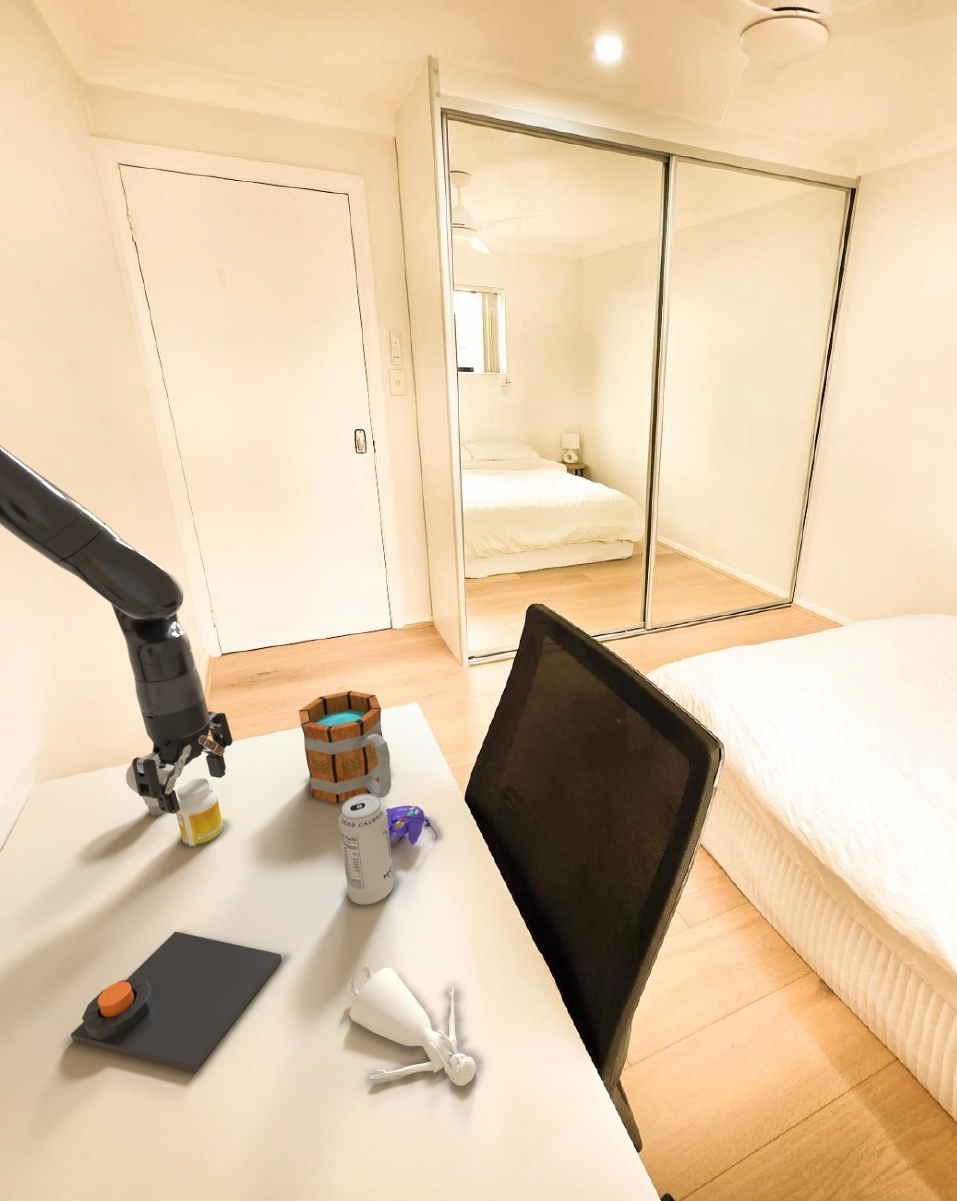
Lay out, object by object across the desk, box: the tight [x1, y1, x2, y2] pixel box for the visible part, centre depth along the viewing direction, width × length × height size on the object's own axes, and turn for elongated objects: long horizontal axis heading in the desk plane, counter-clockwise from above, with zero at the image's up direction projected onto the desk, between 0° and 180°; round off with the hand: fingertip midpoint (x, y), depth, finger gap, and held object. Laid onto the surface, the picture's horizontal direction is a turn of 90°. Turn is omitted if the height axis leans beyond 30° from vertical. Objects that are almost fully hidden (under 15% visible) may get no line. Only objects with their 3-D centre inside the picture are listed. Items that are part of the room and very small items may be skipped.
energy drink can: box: [337, 793, 395, 906], centre depth 81 cm, size 6×6×15 cm
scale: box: [70, 931, 283, 1074], centre depth 67 cm, size 15×13×4 cm
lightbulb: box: [125, 754, 174, 816], centre depth 95 cm, size 6×6×11 cm
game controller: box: [386, 805, 438, 845], centre depth 92 cm, size 10×8×10 cm
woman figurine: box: [346, 964, 477, 1087], centre depth 65 cm, size 12×4×18 cm
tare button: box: [98, 981, 134, 1018], centre depth 64 cm, size 3×3×2 cm
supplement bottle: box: [175, 778, 224, 847], centre depth 91 cm, size 5×5×10 cm
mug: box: [298, 690, 392, 804], centre depth 102 cm, size 20×14×15 cm
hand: (195, 793), depth 90 cm, fingers open, 8 cm apart
